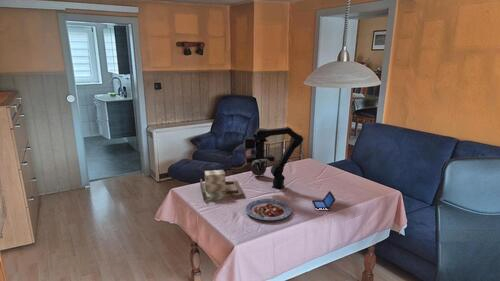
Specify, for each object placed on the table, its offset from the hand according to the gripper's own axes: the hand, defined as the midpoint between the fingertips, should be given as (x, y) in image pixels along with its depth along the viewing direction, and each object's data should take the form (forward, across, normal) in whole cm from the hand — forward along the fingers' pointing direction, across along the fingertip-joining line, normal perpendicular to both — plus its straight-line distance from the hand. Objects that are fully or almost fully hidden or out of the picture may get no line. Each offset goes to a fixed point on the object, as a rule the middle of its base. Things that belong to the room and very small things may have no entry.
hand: (259, 171), depth 210 cm
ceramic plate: (+12, +4, +33) cm, 35 cm away
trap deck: (+12, +25, 0) cm, 28 cm away
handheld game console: (+12, -30, +33) cm, 46 cm away
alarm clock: (+12, -6, -22) cm, 25 cm away
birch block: (+10, +29, 0) cm, 31 cm away
